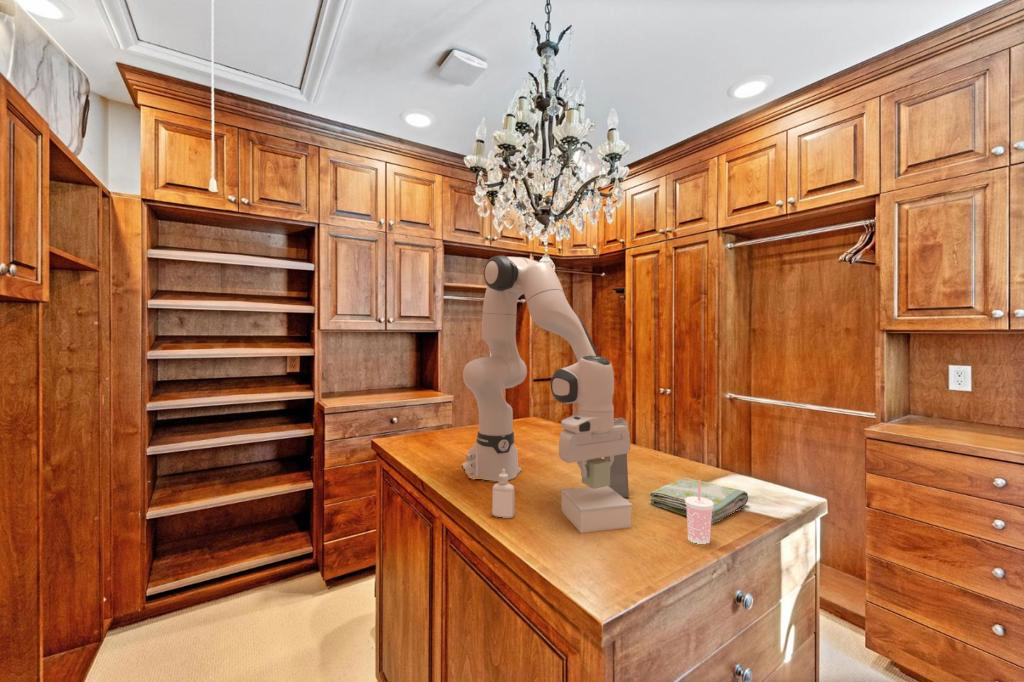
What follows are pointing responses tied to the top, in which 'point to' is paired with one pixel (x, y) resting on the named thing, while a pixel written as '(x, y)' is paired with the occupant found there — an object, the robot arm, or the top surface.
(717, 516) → the towel
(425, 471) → the top surface
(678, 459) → the top surface
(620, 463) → the skincare box
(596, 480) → the green block
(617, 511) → the storage box
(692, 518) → the beverage cup
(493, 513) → the eye dropper bottle
